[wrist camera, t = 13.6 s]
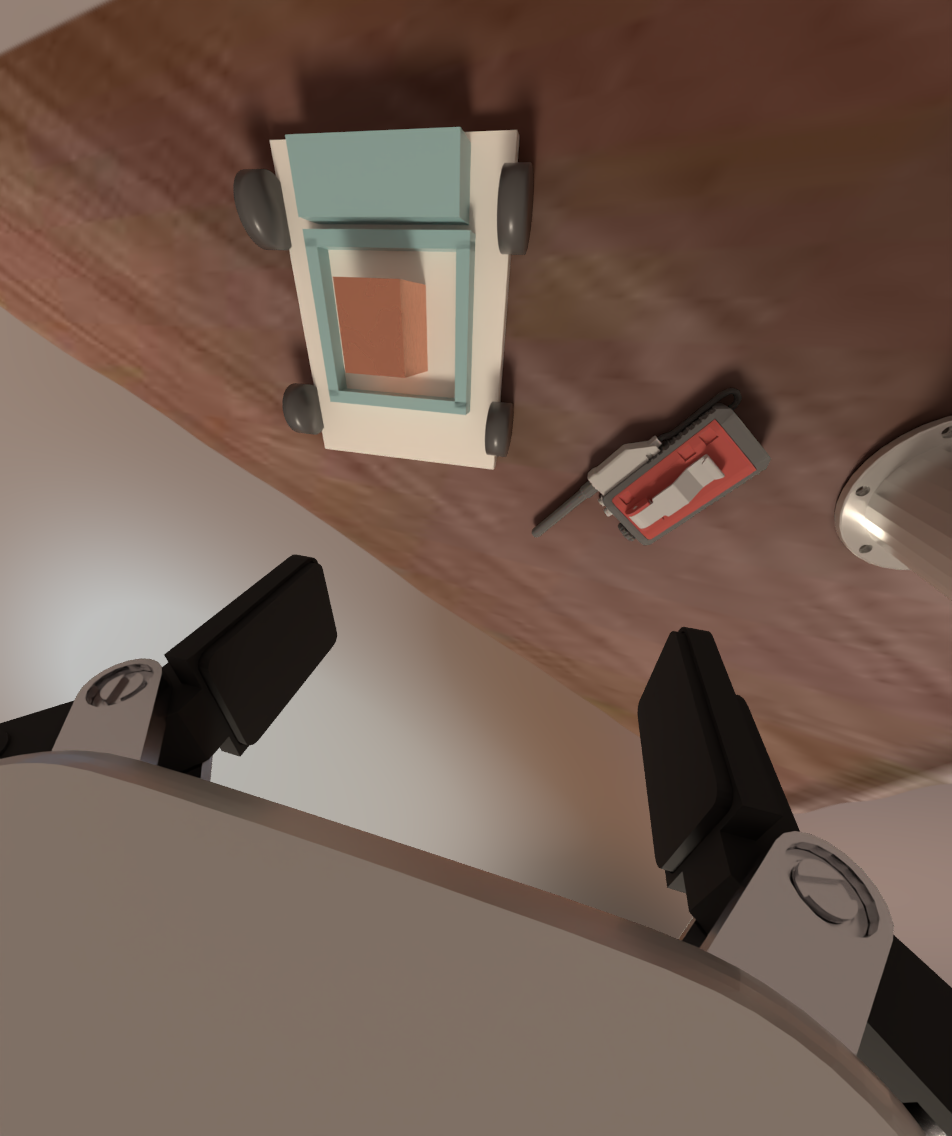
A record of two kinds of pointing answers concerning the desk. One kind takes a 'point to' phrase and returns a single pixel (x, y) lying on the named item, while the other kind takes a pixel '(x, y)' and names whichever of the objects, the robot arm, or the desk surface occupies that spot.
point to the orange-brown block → (382, 326)
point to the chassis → (400, 251)
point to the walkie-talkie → (672, 473)
